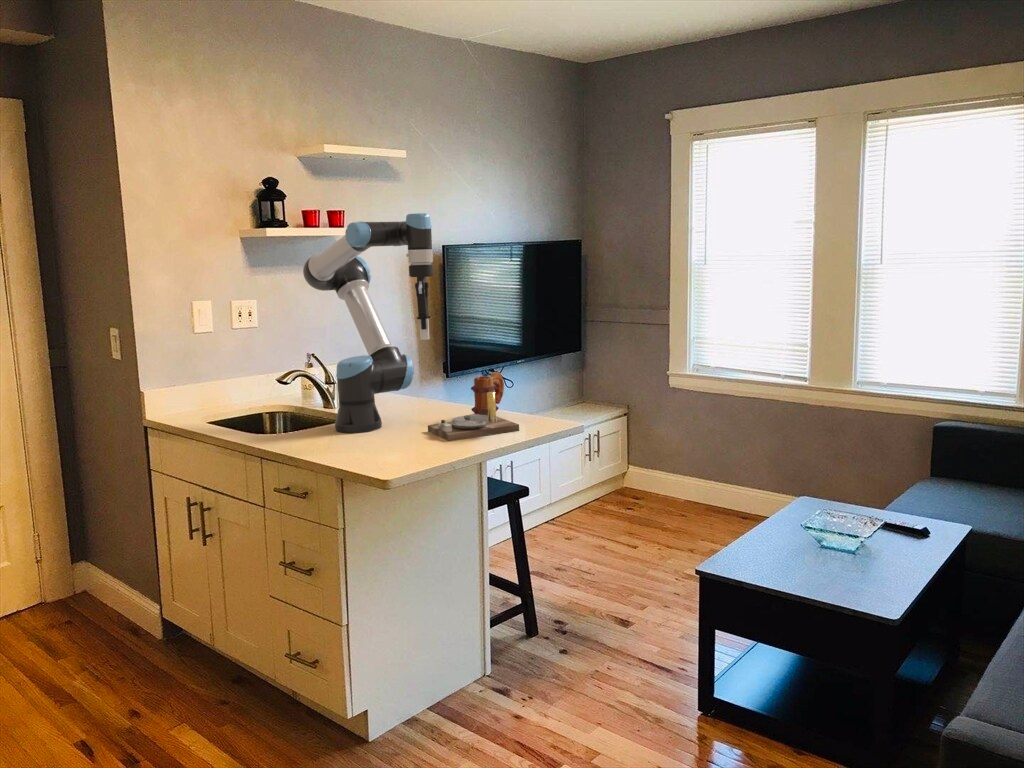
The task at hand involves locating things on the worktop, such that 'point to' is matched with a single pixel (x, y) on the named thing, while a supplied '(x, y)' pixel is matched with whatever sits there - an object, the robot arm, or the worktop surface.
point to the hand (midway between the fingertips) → (424, 339)
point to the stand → (491, 428)
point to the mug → (484, 386)
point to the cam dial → (477, 416)
